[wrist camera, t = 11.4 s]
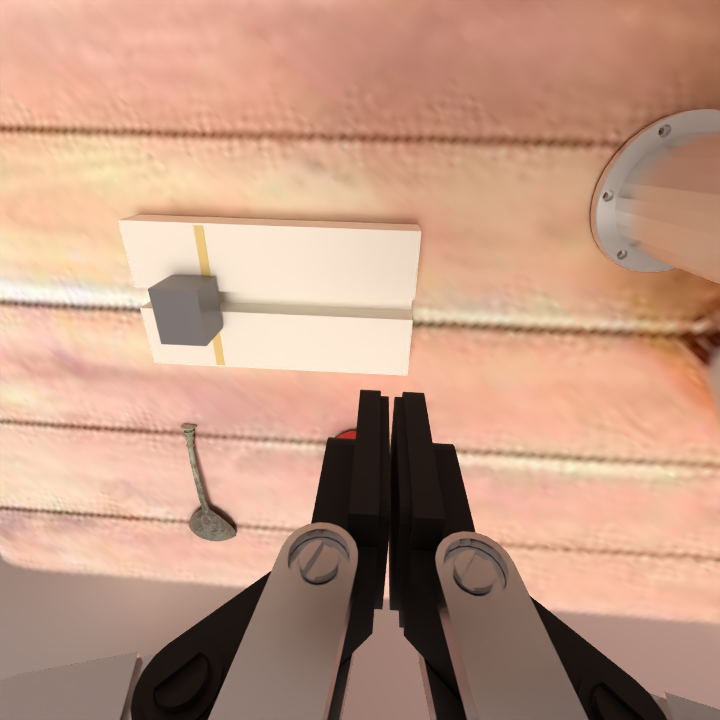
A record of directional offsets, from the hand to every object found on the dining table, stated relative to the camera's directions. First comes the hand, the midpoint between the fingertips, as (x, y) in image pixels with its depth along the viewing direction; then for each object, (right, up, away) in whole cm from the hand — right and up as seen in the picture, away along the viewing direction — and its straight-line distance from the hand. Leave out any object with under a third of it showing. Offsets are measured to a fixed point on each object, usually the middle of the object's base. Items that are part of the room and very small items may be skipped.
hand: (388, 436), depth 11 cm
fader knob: (-16, +9, +28) cm, 33 cm away
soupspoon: (-22, -15, +43) cm, 51 cm away
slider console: (-9, +9, +29) cm, 31 cm away
